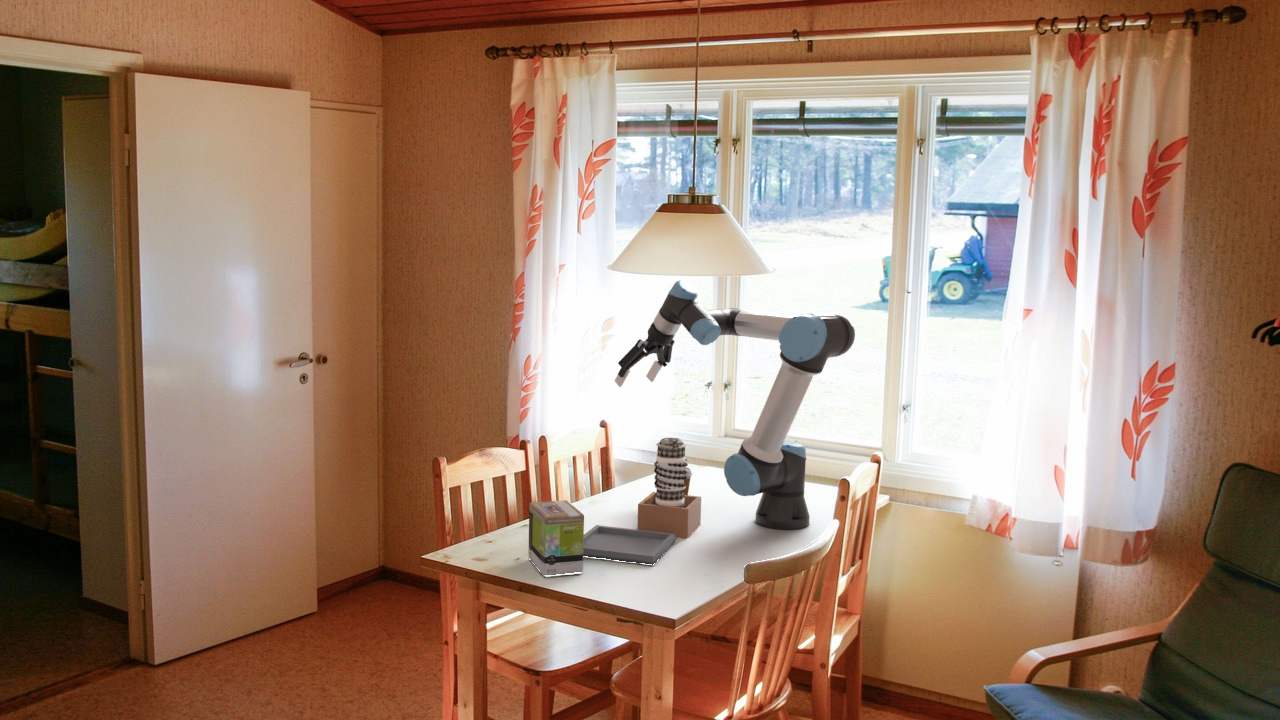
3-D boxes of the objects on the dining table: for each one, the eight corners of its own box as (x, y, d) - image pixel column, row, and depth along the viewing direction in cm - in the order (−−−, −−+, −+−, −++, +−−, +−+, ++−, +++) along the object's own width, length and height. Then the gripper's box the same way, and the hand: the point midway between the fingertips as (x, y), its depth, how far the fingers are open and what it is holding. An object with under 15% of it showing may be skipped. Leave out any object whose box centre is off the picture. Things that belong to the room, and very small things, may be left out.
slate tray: (675, 543, 272) (675, 533, 272) (653, 566, 253) (653, 556, 253) (596, 534, 278) (596, 525, 278) (568, 555, 260) (569, 546, 259)
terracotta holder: (700, 524, 289) (701, 496, 288) (687, 538, 276) (688, 509, 275) (652, 519, 293) (653, 491, 292) (637, 533, 280) (637, 504, 279)
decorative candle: (690, 526, 287) (693, 437, 284) (679, 535, 279) (682, 444, 276) (659, 522, 291) (661, 434, 288) (647, 531, 282) (649, 440, 279)
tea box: (584, 575, 246) (585, 514, 244) (543, 579, 242) (543, 517, 240) (566, 556, 260) (567, 498, 258) (527, 559, 256) (527, 501, 254)
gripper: (685, 316, 313) (655, 369, 324) (626, 322, 295) (596, 377, 306) (700, 332, 310) (669, 385, 320) (642, 339, 292) (611, 394, 303)
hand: (633, 381), depth 313 cm, fingers open, 13 cm apart
